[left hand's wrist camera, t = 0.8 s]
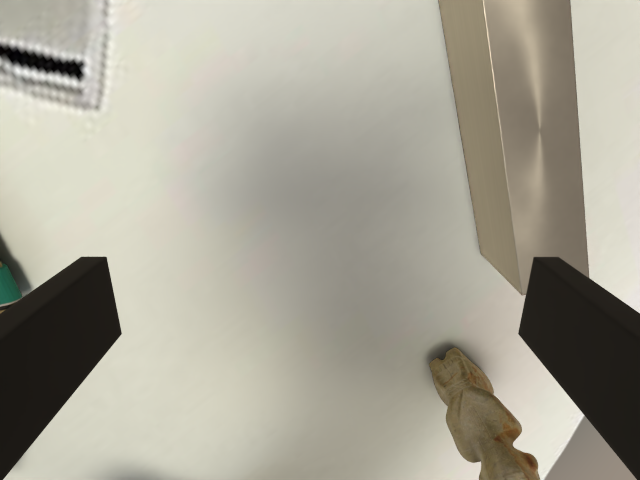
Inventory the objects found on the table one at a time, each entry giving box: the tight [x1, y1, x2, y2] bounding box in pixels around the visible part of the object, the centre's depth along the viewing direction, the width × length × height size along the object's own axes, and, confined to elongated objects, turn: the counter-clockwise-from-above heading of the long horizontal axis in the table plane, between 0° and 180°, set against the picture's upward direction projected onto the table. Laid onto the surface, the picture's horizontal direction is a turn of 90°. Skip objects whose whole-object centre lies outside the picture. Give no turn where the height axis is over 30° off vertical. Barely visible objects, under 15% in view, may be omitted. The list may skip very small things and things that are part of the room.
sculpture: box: [429, 347, 540, 480], centre depth 37 cm, size 6×7×15 cm
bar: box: [439, 0, 589, 295], centre depth 31 cm, size 24×5×9 cm, turn 16°
